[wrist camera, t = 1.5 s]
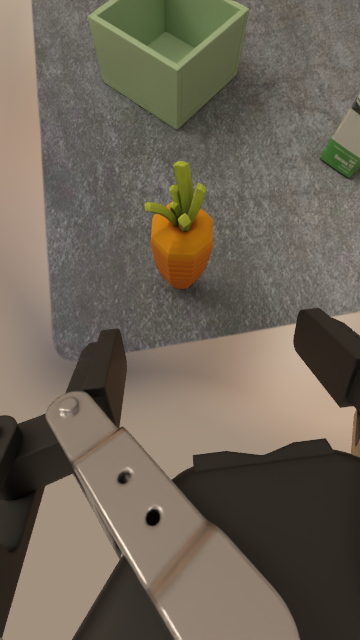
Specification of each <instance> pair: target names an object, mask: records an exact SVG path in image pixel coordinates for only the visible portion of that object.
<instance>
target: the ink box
mask: <svg viewBox="0 0 360 640" xmlns="http://www.w3.org/2000/svg"><path fill="white" fill-rule="evenodd" d="M321 159H322V160H323V161H325V162H326V163H328V164H329V165H330V166H332V167H333V168H335V169H336V170H337V171H339V172H340V173H342V174H344V175H345V176H347V177H348V178H349V177H351V176H352V175H353V174H354V173H355V172H356V171H357V170H358V169H359V168H360V94H359V96H358V97H357V99H356V100H355V102H354V104H353V105H352V107H351V108H350V110H349V111H348V113H347V115H346V116H345V118H344V119H343V121H342V122H341V124H340V126H339V127H338V129H337V130H336V132H335V134H334V135H333V137H332V138H331V140H330V142H329V143H328V145H327V146H326V148H325V150H324V151H323V153H322V155H321Z"/></svg>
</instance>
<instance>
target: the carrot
mask: <svg viewBox="0 0 360 640" xmlns="http://www.w3.org/2000/svg"><path fill="white" fill-rule="evenodd" d="M174 171H175V176H176V181H177V185H172V186H171V187H170V193H171V197H172V200H173V202H171V203H170V204H168V205H167V206H166V207H165V206H163V205H160V204H157V203H150V202H146V203H145V210H146V211H149V212H153V213H157V214H155V215H154V216H153V222H152V234H151V246H152V251H153V255H154V259H155V262H156V266H157V268H158V270H159V271H160V273H161V274H162V276H163V277H164V279H165V280H166V281H167V282H168V283H169V284H170V285H171V286H172V287H173V288H177V289H186V288H188V287H189V286H190V285H191V284H192V283H194V282H195V281H196V280H197V279H198V278H199V276H200V275H201V274H202V272H203V271H204V269H205V268H206V265H207V262H208V260H209V257H210V253H211V250H212V247H213V219H212V218H211V217H210V216H209V215H208V214H207V213H206V212H205V211H204V210H203V209H202V208H201V205H202V203H203V200H204V196H205V192H206V188H205V187H204V186H203V185H202V184H200V183H198V184H197V187H196V190H195V193H194V196H193V185H192V177H191V172H190V167H189V163H186V162H183V161H179V162H176V163H175V164H174Z"/></svg>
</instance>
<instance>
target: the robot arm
mask: <svg viewBox="0 0 360 640" xmlns="http://www.w3.org/2000/svg"><path fill="white" fill-rule="evenodd" d="M294 347H295V350H296V352H297V353H298V355H299V356H300V357H301V359H302V360H303V361H304V362H305V363H306V365H307V366H308V367H309V369H310V370H311V371H312V373H313V374H314V375H315V376H316V377H317V379H318V380H319V381H320V383H321V384H322V385H323V386H324V388H325V389H326V390H327V391H328V393H329V394H330V395H331V397H332V398H333V399H334V400H335V402H336V403H337V404H338V405H339V407H340V408H341V407H349V406H354V407H355V408H356V411H355V414H354V422H353V436H352V448H351V454H349V453H346V452H342V451H338V450H333V449H332V448H331V446H330V444H329V443H328V441H327V440H326V439H318V440H310V441H302V442H294V443H291V444H289V445H287V446H284V447H282V448H280V449H278V450H275V451H273V452H270V453H268V454H265V455H255V454H246V453H238V452H228V451H223V452H216V453H207V454H200V455H193V464H194V466H193V467H191V468H189V469H187V470H185V471H183V472H181V473H180V474H178V475H177V476H176V477H175V478H174V479H172V480H171V479H170V478H169V477H168V476H167V475H166V474H165V473H164V471H163V470H162V469H161V468H160V467H159V466H158V465H157V464H156V462H155V461H154V460H153V459H152V458H151V457H150V455H149V454H148V453H147V452H146V451H145V450H144V449H143V448H142V446H141V445H140V444H139V443H138V442H137V441H136V440H135V438H134V437H132V435H131V434H130V433H129V432H128V431H127V430H126V429H125V428H124V427H121V428H119V425H120V418H121V410H122V403H123V395H124V387H125V380H126V372H127V362H126V355H125V351H124V346H123V342H122V337H121V333H120V330H119V329H110V330H102V331H101V332H100V335H99V338H98V341H97V342H95V343H89V345H88V346H87V347H86V348H85V349H84V350H83V351H82V352H81V355H80V358H79V361H78V363H77V365H76V368H75V370H74V373H73V375H72V378H71V381H70V383H69V386H68V388H67V391H66V393H65V394H64V395H61V396H60V397H58V398H57V399H55V400H54V401H53V402H52V403H51V404H50V405H49V407H48V409H47V411H46V413H45V414H43V415H41V416H39V417H36V418H33V419H30V420H28V421H25V422H22V423H19V424H17V422H16V420H15V419H14V418H13V417H11V416H6V415H4V416H0V640H3V639H2V636H3V632H4V629H5V625H6V621H7V618H8V614H9V611H10V608H11V604H12V601H13V597H14V594H15V590H16V587H17V583H18V579H19V576H20V573H21V569H22V566H23V562H24V558H25V555H26V551H27V548H28V544H29V541H30V537H31V534H32V530H33V527H34V523H35V519H36V516H37V513H38V509H39V506H40V502H41V498H42V495H43V492H44V488H45V486H46V485H48V484H50V483H53V482H55V481H57V480H59V479H62V478H63V477H66V476H68V475H70V474H73V475H74V477H75V478H76V480H77V482H78V484H79V486H80V488H81V489H82V491H83V493H84V495H85V497H86V498H87V500H88V502H89V504H90V506H91V507H92V509H93V511H94V513H95V515H96V516H97V518H98V520H99V522H100V524H101V526H102V528H103V530H104V531H105V533H106V536H107V537H108V539H109V541H110V543H111V545H112V547H113V548H114V550H115V552H116V554H117V556H118V557H119V559H120V560H119V562H118V564H117V566H116V567H115V569H114V570H113V572H112V574H111V575H110V577H109V579H108V580H107V582H106V584H105V585H104V587H103V589H102V590H101V592H100V594H99V595H98V597H97V599H96V600H95V602H94V604H93V605H92V607H91V609H90V610H89V612H88V614H87V616H86V617H85V619H84V620H83V622H82V624H81V625H80V627H79V629H78V630H77V632H76V634H75V636H74V637H73V639H72V640H360V336H359V335H358V334H357V333H356V332H355V331H353V330H352V329H351V328H349V327H348V326H347V325H346V324H345V323H343V322H340V321H338V320H336V319H334V318H331V317H330V316H329V315H327V314H326V313H325V312H324V311H322V310H321V309H320V308H314V309H304V310H300V311H299V313H298V317H297V323H296V328H295V334H294Z"/></svg>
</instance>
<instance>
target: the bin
mask: <svg viewBox="0 0 360 640" xmlns="http://www.w3.org/2000/svg"><path fill="white" fill-rule="evenodd" d="M248 14H249V9H248V8H246V7H245V6H243V5H241V4H239V3H237V2H235V1H233V0H110V1H108V2H107V3H105V4H104V5H103V6H101V7H100V8H98V9H97V10H95V11H94V12H93V13H92V14H90V15H89V16H88V19H89V23H90V27H91V31H92V36H93V40H94V44H95V48H96V53H97V57H98V61H99V65H100V70H101V74H102V78H103V82H104V83H106V84H107V85H109V86H110V87H112V88H113V89H115V90H117V91H118V92H120V93H121V94H123V95H124V96H126V97H127V98H129V99H130V100H132V101H133V102H135V103H136V104H138V105H139V106H141V107H142V108H144V109H145V110H147V111H149V112H150V113H152V114H153V115H155V116H156V117H158V118H159V119H161V120H162V121H164V122H165V123H167V124H168V125H170V126H171V127H173V128H174V129H176V130H178V129H179V128H180V127H181V126H182V125H183V124H184V123H185V122H186V121H187V120H189V119H190V118H191V117H192V116H193V115H194V114H195V113H196V112H197V111H198V110H199V109H200V108H201V107H203V106H204V105H205V104H206V103H207V102H208V101H209V100H210V99H211V98H212V97H213V96H214V95H215V94H217V93H218V92H219V91H220V90H221V89H222V88H223V87H224V86H225V85H226V84H227V83H228V82H229V81H231V80H232V79H233V78H234V77H235V76H236V75H237V70H238V65H239V60H240V55H241V50H242V45H243V40H244V34H245V29H246V24H247V19H248Z"/></svg>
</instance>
